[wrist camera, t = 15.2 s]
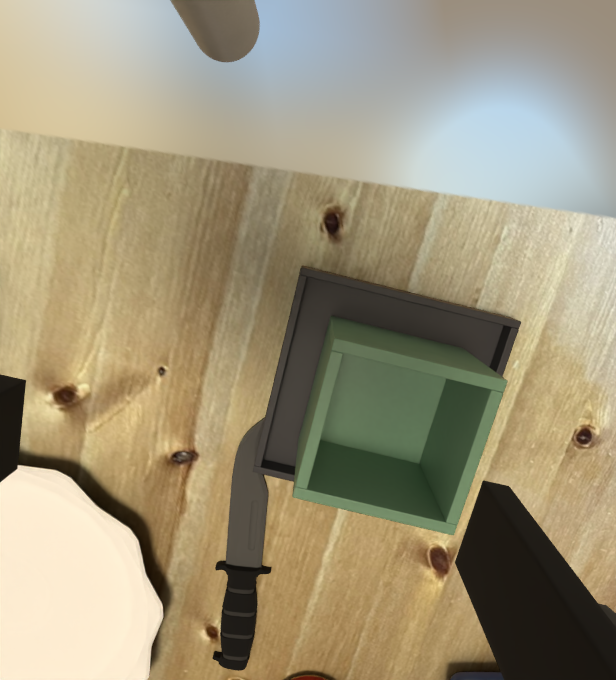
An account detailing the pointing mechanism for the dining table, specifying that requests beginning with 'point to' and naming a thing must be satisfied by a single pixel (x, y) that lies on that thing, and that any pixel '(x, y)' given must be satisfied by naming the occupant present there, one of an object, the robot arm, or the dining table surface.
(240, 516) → the knife
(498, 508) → the robot arm
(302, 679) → the soda can
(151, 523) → the dining table surface
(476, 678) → the flower pot
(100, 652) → the plate
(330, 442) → the green tub
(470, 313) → the tray
